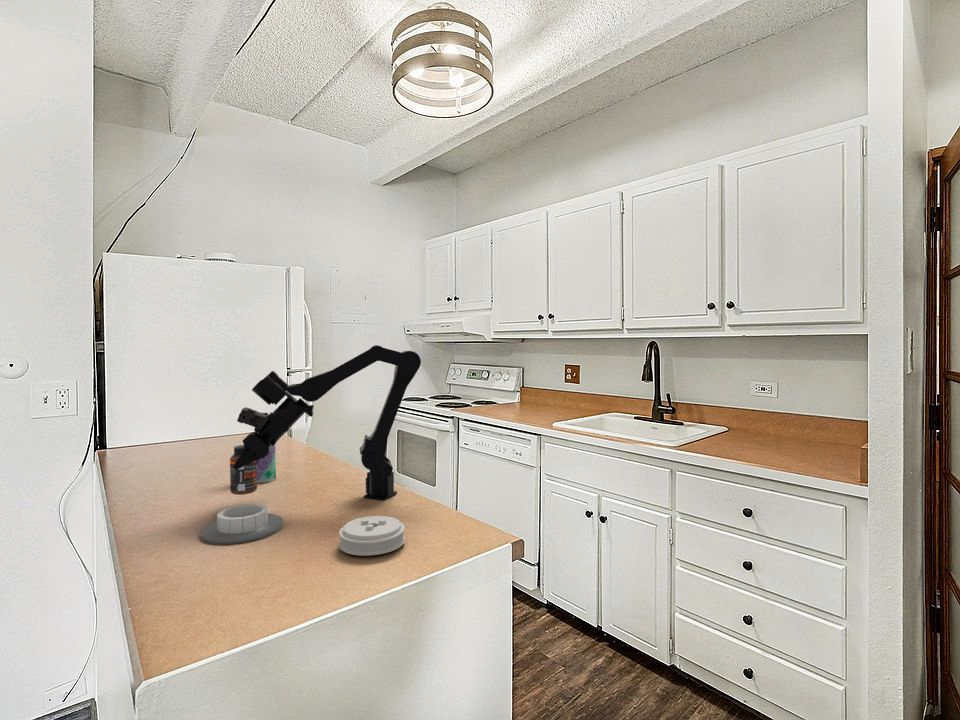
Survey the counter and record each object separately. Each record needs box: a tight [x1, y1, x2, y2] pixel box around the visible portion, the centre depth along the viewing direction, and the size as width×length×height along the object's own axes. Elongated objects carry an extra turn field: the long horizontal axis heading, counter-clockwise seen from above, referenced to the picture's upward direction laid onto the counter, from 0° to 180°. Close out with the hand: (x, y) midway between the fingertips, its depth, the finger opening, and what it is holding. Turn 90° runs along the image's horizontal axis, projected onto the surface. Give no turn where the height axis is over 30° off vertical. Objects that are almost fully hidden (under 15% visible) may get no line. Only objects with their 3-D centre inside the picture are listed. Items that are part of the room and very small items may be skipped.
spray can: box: [254, 412, 277, 484], centre depth 148 cm, size 6×6×20 cm
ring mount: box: [200, 503, 284, 546], centre depth 109 cm, size 16×16×4 cm
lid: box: [338, 515, 406, 557], centre depth 100 cm, size 13×13×5 cm
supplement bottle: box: [229, 444, 258, 496], centre depth 124 cm, size 6×6×11 cm
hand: (237, 465), depth 124 cm, fingers closed on supplement bottle, 6 cm apart
